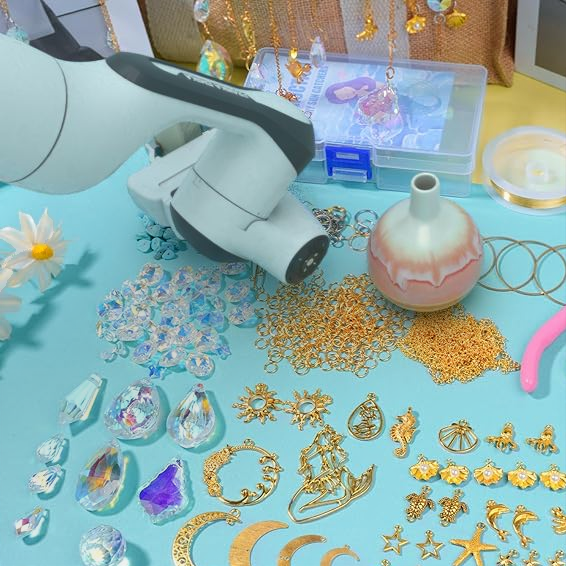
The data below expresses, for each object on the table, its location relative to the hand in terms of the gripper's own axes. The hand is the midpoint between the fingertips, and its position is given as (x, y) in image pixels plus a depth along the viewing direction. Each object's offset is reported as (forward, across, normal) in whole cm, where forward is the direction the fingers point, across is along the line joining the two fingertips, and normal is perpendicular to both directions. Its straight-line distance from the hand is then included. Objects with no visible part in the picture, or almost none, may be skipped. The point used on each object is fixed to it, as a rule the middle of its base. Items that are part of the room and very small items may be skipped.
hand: (174, 132), depth 108 cm
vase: (-36, -12, +9) cm, 39 cm away
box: (-1, 0, +6) cm, 6 cm away
